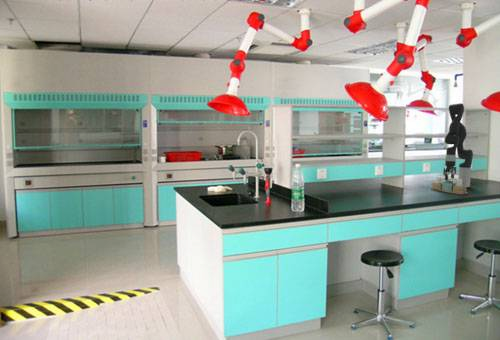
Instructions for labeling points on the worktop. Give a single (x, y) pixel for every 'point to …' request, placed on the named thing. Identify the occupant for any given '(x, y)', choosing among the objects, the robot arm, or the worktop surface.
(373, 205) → the worktop surface
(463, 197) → the worktop surface
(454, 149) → the robot arm
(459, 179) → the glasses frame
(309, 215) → the worktop surface
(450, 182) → the display stand
